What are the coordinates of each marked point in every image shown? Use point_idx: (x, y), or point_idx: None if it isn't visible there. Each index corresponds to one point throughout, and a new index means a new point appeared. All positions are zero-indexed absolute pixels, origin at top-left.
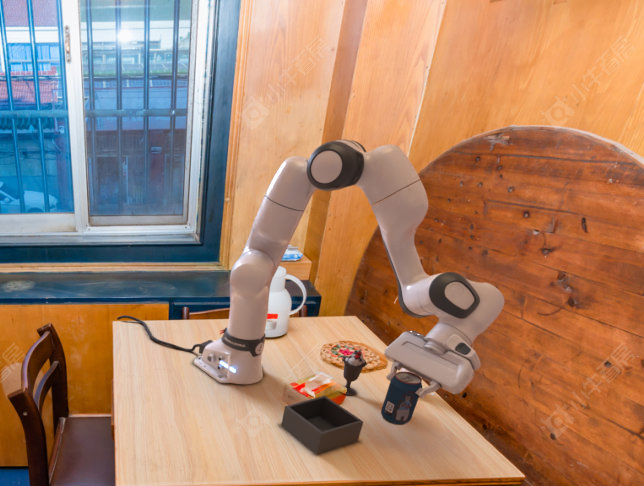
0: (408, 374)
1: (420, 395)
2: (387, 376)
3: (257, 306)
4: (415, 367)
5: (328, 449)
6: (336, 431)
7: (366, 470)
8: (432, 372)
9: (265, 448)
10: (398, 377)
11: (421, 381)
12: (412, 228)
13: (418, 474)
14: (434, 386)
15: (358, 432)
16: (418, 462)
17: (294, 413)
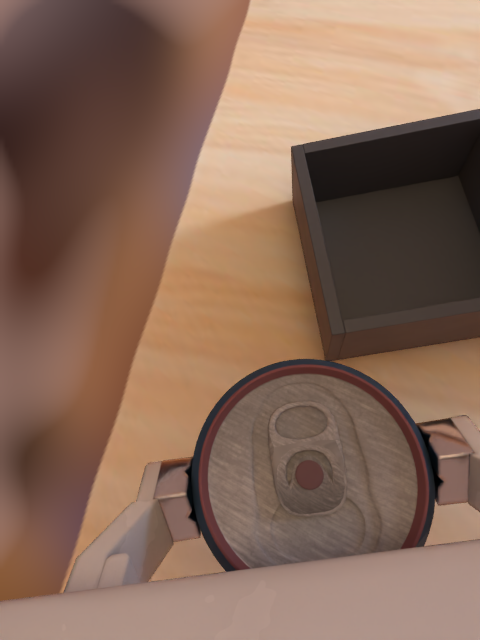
0: (379, 542)
1: (148, 464)
2: (461, 417)
3: None
4: (347, 573)
5: (300, 236)
6: (304, 211)
7: (185, 295)
8: (132, 633)
9: (353, 88)
10: (346, 401)
11: (217, 545)
12: None
13: (115, 443)
14: (77, 561)
15: (326, 340)
16: None
17: (439, 117)
